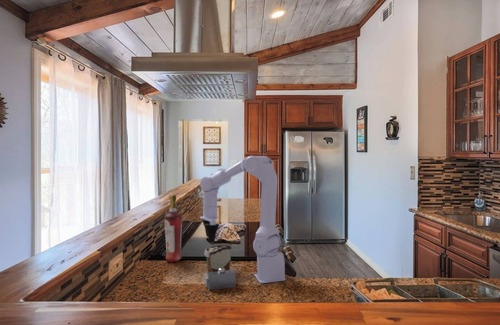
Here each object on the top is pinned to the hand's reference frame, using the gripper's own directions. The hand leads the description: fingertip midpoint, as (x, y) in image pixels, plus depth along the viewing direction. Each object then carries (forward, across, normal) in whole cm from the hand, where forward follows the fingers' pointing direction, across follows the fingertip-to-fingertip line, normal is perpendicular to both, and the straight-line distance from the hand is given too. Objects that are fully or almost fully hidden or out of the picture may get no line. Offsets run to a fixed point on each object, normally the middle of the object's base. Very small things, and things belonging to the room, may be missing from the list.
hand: (210, 238), depth 120 cm
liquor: (+11, -9, -14) cm, 20 cm away
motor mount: (+10, +21, 0) cm, 24 cm away
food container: (+10, +10, 0) cm, 15 cm away
